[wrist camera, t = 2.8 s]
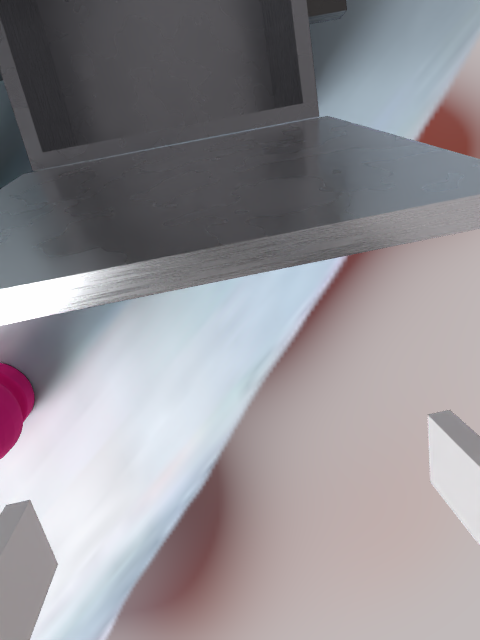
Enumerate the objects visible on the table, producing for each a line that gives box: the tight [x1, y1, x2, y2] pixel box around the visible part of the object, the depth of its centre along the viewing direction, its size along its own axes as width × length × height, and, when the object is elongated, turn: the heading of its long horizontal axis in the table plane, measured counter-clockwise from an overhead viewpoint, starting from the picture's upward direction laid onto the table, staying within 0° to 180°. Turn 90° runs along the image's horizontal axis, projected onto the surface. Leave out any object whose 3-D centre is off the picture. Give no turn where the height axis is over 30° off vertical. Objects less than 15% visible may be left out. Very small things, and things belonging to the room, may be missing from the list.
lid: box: [0, 116, 480, 325], centre depth 16 cm, size 16×16×3 cm
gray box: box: [0, 0, 347, 171], centre depth 24 cm, size 16×21×9 cm
